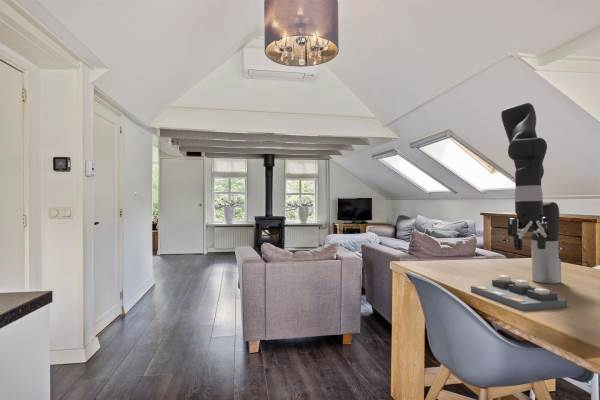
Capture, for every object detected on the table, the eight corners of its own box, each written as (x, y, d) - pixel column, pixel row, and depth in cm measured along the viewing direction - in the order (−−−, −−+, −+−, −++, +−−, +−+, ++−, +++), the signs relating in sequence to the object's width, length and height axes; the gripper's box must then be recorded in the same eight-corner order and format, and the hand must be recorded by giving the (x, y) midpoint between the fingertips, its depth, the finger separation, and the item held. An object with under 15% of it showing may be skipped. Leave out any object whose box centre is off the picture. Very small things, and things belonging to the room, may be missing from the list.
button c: (542, 293, 113) (541, 287, 113) (552, 297, 109) (552, 290, 109) (531, 294, 113) (531, 288, 113) (542, 297, 109) (542, 291, 109)
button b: (522, 285, 121) (522, 279, 121) (531, 287, 117) (531, 281, 117) (512, 285, 120) (512, 280, 120) (521, 288, 117) (521, 282, 117)
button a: (505, 280, 129) (504, 274, 129) (513, 282, 125) (513, 277, 125) (495, 280, 128) (495, 275, 128) (503, 283, 124) (503, 277, 124)
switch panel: (508, 288, 131) (507, 278, 132) (567, 306, 108) (566, 294, 108) (470, 291, 129) (470, 280, 129) (523, 310, 105) (522, 297, 105)
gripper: (537, 199, 116) (538, 247, 116) (500, 200, 113) (502, 249, 113) (557, 199, 109) (559, 250, 109) (519, 200, 106) (520, 252, 106)
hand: (530, 249), depth 111 cm, fingers open, 8 cm apart
